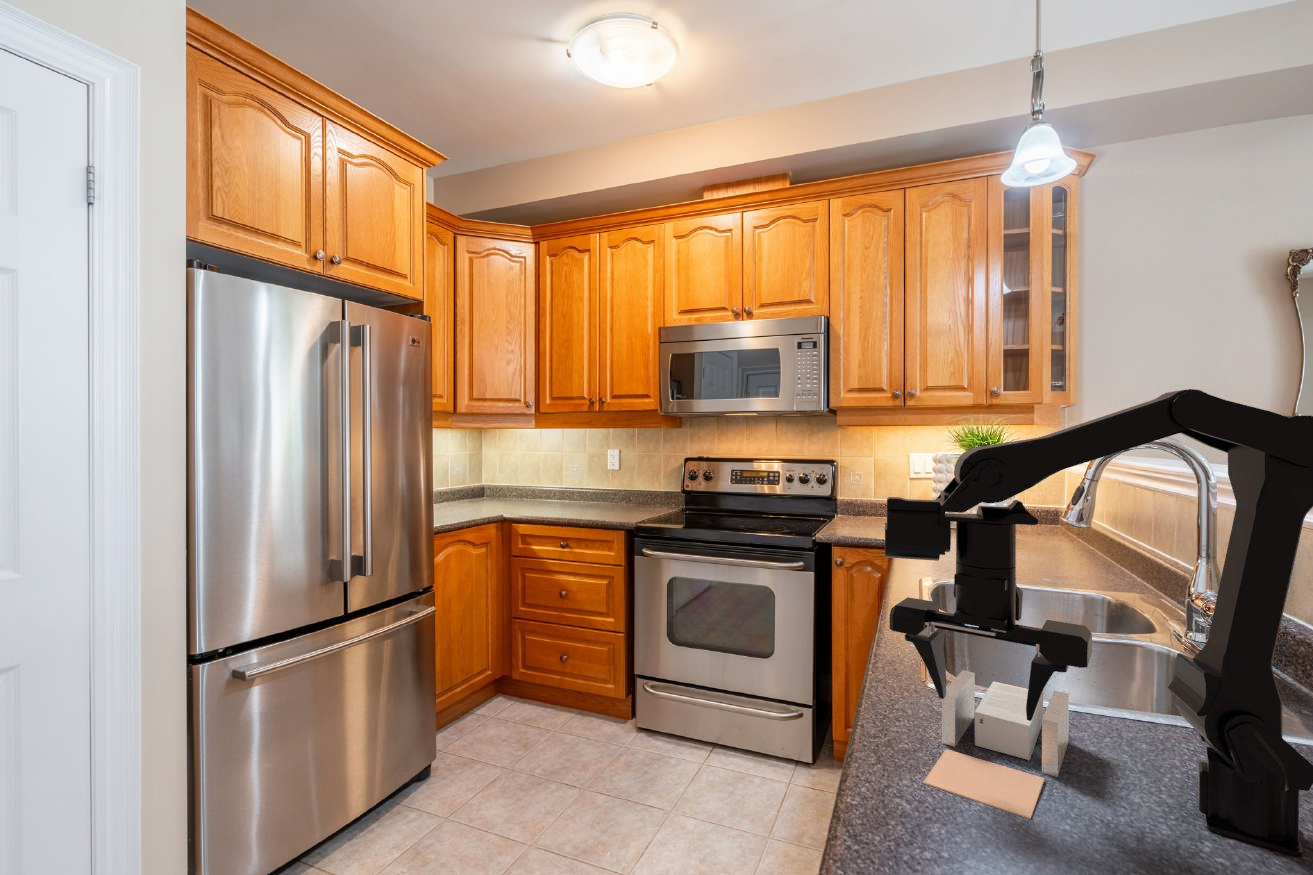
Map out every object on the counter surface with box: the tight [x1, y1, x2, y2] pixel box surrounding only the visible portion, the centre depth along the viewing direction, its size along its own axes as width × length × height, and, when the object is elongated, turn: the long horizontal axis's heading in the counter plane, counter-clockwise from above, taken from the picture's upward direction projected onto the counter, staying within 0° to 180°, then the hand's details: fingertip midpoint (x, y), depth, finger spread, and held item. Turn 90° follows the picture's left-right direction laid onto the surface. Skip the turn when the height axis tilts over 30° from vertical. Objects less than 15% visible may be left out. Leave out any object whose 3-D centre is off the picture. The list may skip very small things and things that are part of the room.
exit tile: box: [922, 748, 1045, 820], centre depth 68 cm, size 10×9×1 cm
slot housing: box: [941, 669, 1070, 778], centre depth 77 cm, size 12×10×6 cm
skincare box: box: [973, 681, 1044, 761], centre depth 79 cm, size 6×4×12 cm
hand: (984, 707), depth 68 cm, fingers open, 8 cm apart
